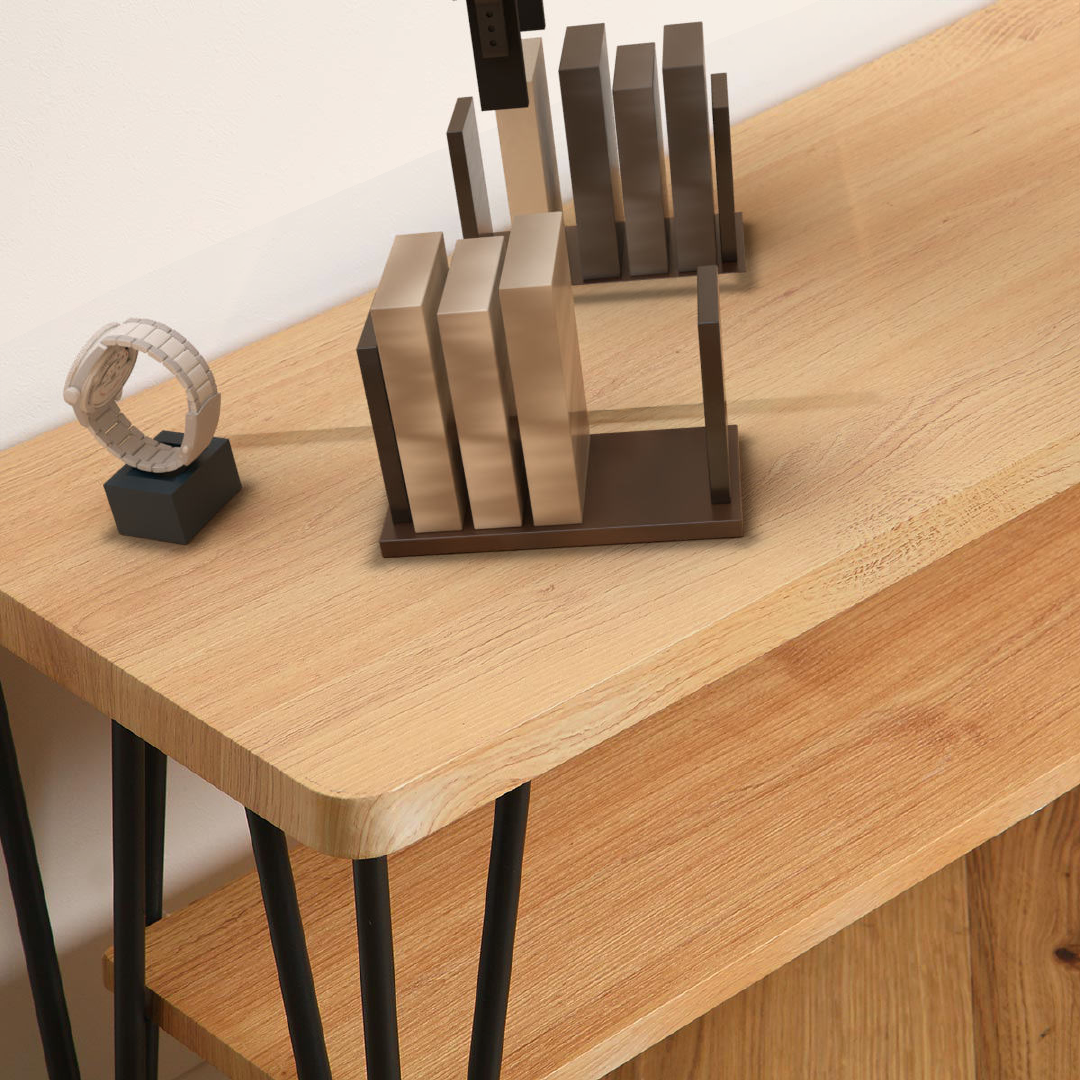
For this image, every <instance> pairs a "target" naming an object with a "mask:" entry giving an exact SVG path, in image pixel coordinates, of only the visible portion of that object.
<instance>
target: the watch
mask: <svg viewBox="0 0 1080 1080" xmlns="http://www.w3.org/2000/svg"><path fill="white" fill-rule="evenodd" d="M139 352H141V353H143V354H147V356H148V357H150V358H152V359H153V360H154V361H157V362H158V363H159V364H162V366H163V367H164V368H166V369H167V370H168V371H169V372H170V373H171V374H172V375H175V378H176V380H177V381H178V383H179V384H180V385H181V387H182V388H183V389H185V391H184V392H185V395H186V402H187V408H188V412H186V414H185V422H184V423H185V425H184V432H181V431H173V430H164V429H162V430H161V431H160V432H159V433H157V434H156V435H155V436H154V437H153V438H151V437H150V436H148V435H146V436H145V433H143V432H142V431H141V430H140V429H139V428H137V427H136V426H135V425H132V422H131V421H130V419H128V417H127V416H126V415H125V414H124V413H123V412H121V408H120V407H119V405H118V404H117V403H118V402H119V401H120V400H121V399H122V396H123V390H124V387H125V385H126V383H128V380H129V378H130V376H131V375H132V372H133V370H134V369H135V366H136V363H137V359H138V355H139ZM62 390H63V391H62V397H63V400H64V402H65V403H66V404H67V405H69V406H71V407H72V410H73V412H74V415H75V417H76V418H77V421H78V423H79V424H80V426H81V427H83V428H85V429H87V430H88V431H89V432H90V434H91V435H92V436H93V438H94V439H95V440H96V441H97V443H98V444H99V445H100V446H102V447H103V448H104V449H106V451H107V452H108V453H109V454H111V455H112V456H113V457H114V458H116V459H118V460H120V461H121V462H122V463H124V465H123V466H121V468H119V469H118V470H117V471H116V472H115V473H114V474H113V475H112V476H110V477H109V479H107V480H106V481H105V482H104V483H103V485H102V486H103V489H104V493H105V495H106V499H107V501H108V505H109V507H110V510H111V511H110V512H111V513H112V516H113V520H114V522H115V525H116V528H117V532H118V534H119V535H123V536H131V537H137V538H143V539H149V540H156V541H161V542H167V543H174V544H179V545H188V543H190V542H191V541H192V540H193V539H194V538H195V536H197V534H198V533H199V532H200V531H201V530H203V528H205V526H207V524H208V523H209V522H210V521H211V520H212V519H213V518H214V517H215V516H216V515H217V514H218V513H219V512H220V511H221V510H222V509H223V508H224V507H225V506H226V505H227V503H229V502H230V501H231V500H232V499H233V498H234V497H235V495H237V493H238V492H239V491H240V490H241V489H242V488H243V485H242V482H241V478H240V475H239V471H238V467H237V463H236V459H235V456H234V452H233V449H232V445H231V441H230V439H229V438H228V437H227V438H226V437H220V436H215V434H216V432H217V431H216V430H217V427H218V425H219V422H220V421H219V420H220V417H221V407H222V406H221V404H222V393H221V392H220V391H219V392H218V385H217V383H216V378H215V375H214V374H213V372H212V370H211V369H210V366H209V364H208V363H207V361H206V359H205V358H204V357H203V355H202V354H200V352H199V350H198V349H197V348H196V346H194V344H192V343H191V342H190V341H189V340H188V339H187V338H186V337H185V336H183V334H182V333H180V332H178V331H177V330H176V329H173V328H171V327H170V326H169V325H166V324H165V323H163V322H160V321H156V320H154V319H149V318H140V317H128V318H127V319H126V320H125V321H123V322H122V323H121V324H120V323H119V322H118V321H112V322H109V323H107V324H105V325H104V326H102V327H101V328H99V329H98V330H97V331H96V332H95V333H94V334H93V335H92V336H91V337H90V338H89V339H88V340H87V341H86V342H85V344H84V345H83V347H82V348H81V349H80V351H79V352H78V354H77V355H76V357H75V359H74V361H73V363H72V364H71V366H70V368H69V371H68V373H67V376H66V379H65V381H64V384H63V389H62Z"/></svg>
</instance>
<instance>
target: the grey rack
mask: <svg viewBox="0 0 1080 1080" xmlns="http://www.w3.org/2000/svg"><path fill="white" fill-rule="evenodd" d="M703 23H704V22H703V21H691V22H680V23H671V24H664V25H663V33H662V35H663V36H662V58H661V59H662V61H661V62H662V63H661V66H662V67H661V73H662V86H663V87H662V88H663V98H664V99H663V100H664V112H665V120H666V121H665V122H666V123H665V124H666V135H667V149H668V159H669V172H670V173H669V174H670V185H671V197H672V208H673V211H672V212H673V217H672V216H671V215H670V206H669V205H670V204H669V194H668V182H667V171H666V170H667V168H666V159H665V156H666V155H665V146H664V145H665V144H664V133H663V123H662V122H663V121H662V120H663V119H662V109H661V97H660V86H659V83H660V82H659V72H658V71H659V70H658V59H657V48H656V47H657V46H656V42H655V41H651V42H642V43H632V44H631V43H630V44H622V45H621V44H620V45H616V51H615V59H614V60H615V61H614V70H613V78H612V82H611V72H610V62H609V51H608V43H607V32H606V23H605V22H600V23H588V24H579V25H569V26H566V27H565V33H564V38H563V43H562V48H561V53H560V59H559V65H558V71H557V73H558V80H559V81H558V82H559V89H560V97H561V106H562V115H563V123H564V124H563V125H564V131H565V141H566V148H567V149H566V151H567V157H568V167H569V175H570V182H571V191H572V200H573V207H574V215H575V224H576V225H565V236H566V244H567V252H568V260H569V268H570V277H571V285H572V287H573V286H585V285H598V284H600V285H601V284H612V283H623V282H625V283H626V282H638V281H649V280H650V281H651V280H661V279H664V280H665V279H675V278H687V277H697V267H698V266H710V265H717V267H718V275H726V274H737V273H739V274H740V273H747V260H746V245H745V231H744V216H743V211H736V208H735V207H736V205H735V190H734V189H735V188H734V172H733V155H732V141H731V140H732V138H731V137H732V136H731V121H730V105H729V104H730V103H729V88H728V85H729V84H728V73H727V72H717V73H711V74H710V93H711V94H710V97H711V114H712V117H711V118H712V131H713V132H712V133H713V148H714V163H715V180H716V195H717V197H716V198H717V211H718V213H716V207H715V192H714V191H715V189H714V176H713V160H712V147H711V145H712V143H711V131H710V115H709V114H710V113H709V101H708V100H709V99H708V86H707V70H706V68H707V67H706V53H705V40H704V39H705V38H704V24H703ZM455 101H456V102H455V104H454V107H453V112H452V114H451V117H450V120H449V123H448V126H447V130H446V133H445V134H446V140H447V147H448V153H449V160H450V165H451V172H452V178H453V184H454V190H455V191H454V192H455V197H456V202H457V203H456V204H457V207H458V215H459V221H460V227H461V233H462V239H470V238H482V237H494V236H504V238H505V244H506V251H507V247H508V242H509V237H510V233H511V230H505V231H494V230H493V222H492V216H491V215H492V214H491V209H490V202H489V195H488V188H487V182H486V181H487V180H486V175H485V168H484V162H483V154H482V149H481V141H480V135H479V128H478V122H477V116H476V109H475V102H474V97H473V96H462V97H457V98H456V100H455ZM670 216H671V217H670Z"/></svg>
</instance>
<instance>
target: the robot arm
mask: <svg viewBox="0 0 1080 1080" xmlns="http://www.w3.org/2000/svg"><path fill="white" fill-rule="evenodd" d="M452 1H453V2H454V1H456V0H452ZM465 2H466V3H465V4H466V11H467V16H468V17H467V18H468V19H467V20H468V26H469V33H470V40H471V46H472V53H473V54H472V55H473V61H474V68H475V75H476V83H477V89H478V96H479V97H478V98H479V105H480V111H481V112H492V111H495V110H504V109H515V108H527V107H528V106H529V97H528V89H527V81H526V73H525V64H524V56H523V48H522V40H521V39H522V33H523V32H534V31H545V30H546V27H547V25H546V15H545V6H544V0H465Z"/></svg>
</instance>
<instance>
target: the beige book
mask: <svg viewBox="0 0 1080 1080" xmlns="http://www.w3.org/2000/svg"><path fill="white" fill-rule="evenodd" d="M521 40H522V48H523V56H524V64H525V73H526V81H527V89H528V97H529V106H528V107H527V108H515V109H504V110H494V112H495V113H494V114H495V120H496V126H497V133H498V134H497V135H498V141H499V148H500V156H501V161H502V169H503V175H504V182H505V190H506V191H505V192H506V196H507V197H506V198H507V204H508V211H509V218H510V225H511V227H512V223H513V218H514V216H515V215H525V214H537V213H549V212H561V211H562V212H563V213H564V208H563V199H562V192H561V183H560V175H559V167H558V159H557V158H558V157H557V151H556V144H555V143H556V141H555V134H554V125H553V118H552V109H551V101H550V92H549V85H548V76H547V69H546V60H545V53H544V45H543V38H542V36H539V37H528V38H521ZM563 220H564V221H565V216H564V214H563ZM565 226H566V224H565V222H564V228H565Z"/></svg>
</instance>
